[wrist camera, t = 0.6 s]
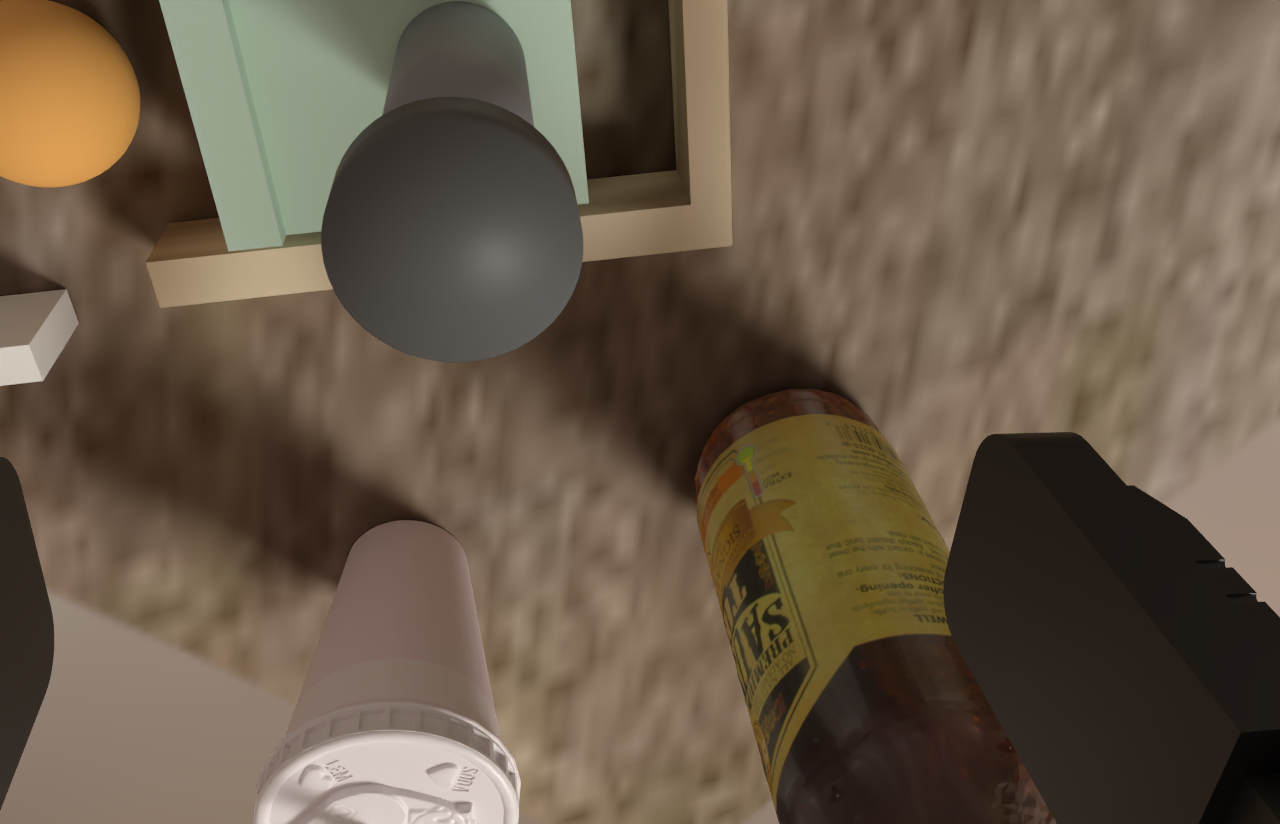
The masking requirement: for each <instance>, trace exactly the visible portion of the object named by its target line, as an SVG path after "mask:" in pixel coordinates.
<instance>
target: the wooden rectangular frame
mask: <svg viewBox="0 0 1280 824" xmlns="http://www.w3.org/2000/svg"><path fill="white" fill-rule="evenodd" d="M668 4H669V25H670V46H671V67H672V88H673V109H674V130H675V151H676V170H673V171H663V172H654V173H644V174H634V175H625V176H615V177H606V178H596V179H587V186H588V197H589V203H587V204H577V205H578V210H579V215H580V220H581V226H582V232H583V260H582V262H588V261H597V260H606V259H615V258H624V257H633V256H643V255H652V254H661V253H670V252H679V251H689V250H698V249H707V248H716V247H725V246H732V205H731V158H730V111H729V63H728V16H727V0H668ZM146 265H147V268H148V271H149V274H150V277H151V280H152V284H153V287H154V290H155V293H156V296H157V299H158V302H159V305H160V308H165V307H174V306H183V305H192V304H201V303H211V302H220V301H229V300H238V299H247V298H257V297H266V296H275V295H284V294H293V293H303V292H312V291H321V290H330V289H333V288H332V285H331V283H330V281H329V279H328V276H327V272H326V269H325V266H324V262H323V255H322V249H321V232H311V233H302V234H292V235H286V237H285V240H284V243H283V246H276V247H266V248H257V249H247V250H238V251H228V248H227V244H226V240H225V237H224V233H223V230H222V226H221V222H220V219H219V218H211V219H201V220H192V221H182V222H173V223H168V225H167V226H166V228H165V230H164V232H163V233H162V235H161V237H160V239H159V240H158V242H157V244H156V246H155V247H154V249H153V251H152V253H151V254H150V256H149V258H148V260H147V261H146Z"/></svg>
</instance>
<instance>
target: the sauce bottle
mask: <svg viewBox="0 0 1280 824" xmlns="http://www.w3.org/2000/svg"><path fill="white" fill-rule="evenodd" d="M695 483H696V498H695V501H696V505H697V522H698V526H699V531H700V535H701V538H702V542H703V546H704V549H705V553H706V556H707V560H708V563H709V567H710V571H711V575H712V579H713V582H714V586H715V589H716V593H717V597H718V600H719V604H720V608H721V611H722V615H723V620H724V624H725V627H726V632H727V635H728V638H729V641H730V645H731V649H732V652H733V656H734V659H735V664H736V668H737V673H738V677H739V680H740V683H741V686H742V689H743V692H744V696H745V702H746V705H747V708H748V712H749V715H750V719H751V723H752V727H753V730H754V734H755V738H756V741H757V745H758V748H759V752H760V756H761V760H762V764H763V768H764V772H765V775H766V779H767V782H768V785H769V788H770V792H771V795H772V799H773V803H774V806H775V810H776V814H777V817H778V820H779V823H780V824H1057V823H1056V821H1055V819H1054V818H1053V816H1052V814H1051V812H1050V810H1049V809H1048V807H1047V805H1046V803H1045V802H1044V800H1043V798H1042V796H1041V795H1040V793H1039V791H1038V789H1037V788H1036V786H1035V784H1034V782H1033V780H1032V779H1031V777H1030V775H1029V773H1028V772H1027V770H1026V768H1025V766H1024V765H1023V763H1022V761H1021V759H1020V757H1019V756H1018V754H1017V752H1016V750H1015V749H1014V747H1013V745H1012V743H1011V742H1010V740H1009V738H1008V736H1007V734H1006V733H1005V731H1004V729H1003V727H1002V726H1001V724H1000V722H999V720H998V719H997V717H996V715H995V713H994V711H993V710H992V708H991V706H990V704H989V703H988V701H987V699H986V697H985V696H984V694H983V692H982V690H981V688H980V687H979V685H978V683H977V681H976V680H975V678H974V676H973V674H972V673H971V671H970V669H969V667H968V665H967V664H966V662H965V660H964V658H963V657H962V655H961V653H960V651H959V650H958V648H957V646H956V644H955V642H954V640H953V638H952V636H951V633H950V630H949V627H948V623H947V619H946V614H945V608H944V595H943V588H944V576H945V571H946V566H947V562H948V558H949V554H950V552H949V550H948V548H947V546H946V544H945V542H944V540H943V538H942V537H941V535H940V533H939V531H938V529H937V527H936V526H935V524H934V522H933V520H932V518H931V516H930V514H929V512H928V510H927V508H926V506H925V504H924V502H923V501H922V499H921V497H920V495H919V493H918V492H917V490H916V488H915V486H914V484H913V482H912V481H911V479H910V477H909V475H908V473H907V472H906V470H905V468H904V466H903V464H902V463H901V461H900V459H899V457H898V455H897V454H896V452H895V450H894V448H893V447H892V446H891V445H890V443H889V442H888V441H887V440H886V438H885V437H884V436H882V435H881V434H880V432H879V431H878V429H877V427H876V425H875V424H874V423H873V422H872V420H871V419H870V417H869V416H868V415H867V414H865V413H863V412H862V411H861V410H860V409H859V408H858V407H856V406H855V405H854V404H852V403H851V402H850V401H849V400H847V399H845V398H843V397H842V396H839V395H836V394H834V393H831V392H825V391H821V390H818V389H814V388H809V389H786V390H784V391H781V392H777V393H770V394H767V395H764V396H762V397H760V398H758V399H754V400H752V401H750V402H747V403H745V404H743V405H741V406H739V407H738V408H737V409H735V410H734V411H733V412H732V413H730V415H729V416H728V417H725V418H724V420H723V421H722V422H721V423H720V424H719V425H718V426H717V427H716V428H715V429H714V430H713V432H712V434H711V435H710V437H709V439H708V441H707V443H706V445H705V447H704V449H703V451H702V455H701V457H700V459H699V463H698V466H697V473H696V475H695Z"/></svg>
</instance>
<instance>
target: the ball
mask: <svg viewBox="0 0 1280 824" xmlns="http://www.w3.org/2000/svg"><path fill="white" fill-rule="evenodd" d="M139 117H140V91H139V86H138V82H137V78H136V75H135V73H134V70H133V67H132V65H131V63H130V61H129V59H128V57H127V55H126V54H125V52H124V51H123V49H122V48H121V46H120V45H119V44H118V43H117V41H116V40H115V39H114V38H113V37H112V35H110V34H109V33H108V32H107V31H106V30H105V29H104V28H103V27H102V26H101V25H99V24H98V23H97V22H96V21H94V20H93V19H91V18H90V17H88V16H86V15H85V14H83V13H81V12H79V11H77V10H75V9H73V8H71V7H69V6H66V5H63V4H60V3H57V2H53V1H49V0H1V1H0V176H1V177H4V178H6V179H8V180H11V181H15V182H18V183H21V184H25V185H30V186H35V187H63V186H69V185H75V184H78V183H82V182H85V181H87V180H89V179H91V178H94V177H96V176H98V175H100V174H101V173H103V172H104V171H106V170H107V169H109V168H110V167H111V166H112V165H113V164H114V163H115V162H117V161H118V160H119V159H120V158H121V156H122V155H123V154H124V153H125V151H126V150H127V148H128V147H129V145H130V143H131V141H132V139H133V137H134V135H135V132H136V129H137V127H138V122H139Z"/></svg>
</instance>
